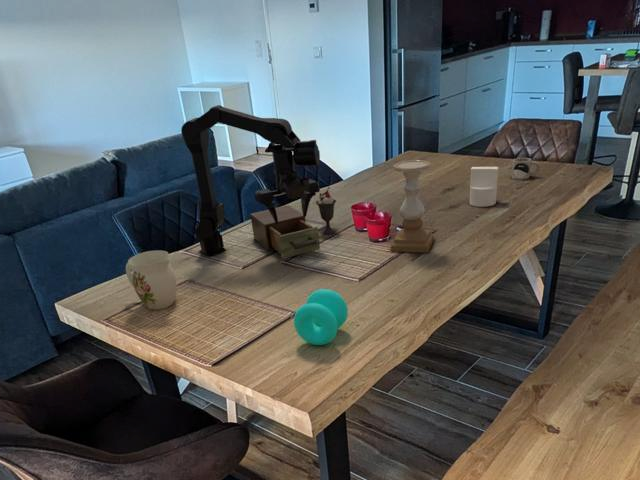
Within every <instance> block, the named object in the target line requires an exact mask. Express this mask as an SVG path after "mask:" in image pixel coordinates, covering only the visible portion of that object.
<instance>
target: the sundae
mask: <svg viewBox="0 0 640 480" xmlns="http://www.w3.org/2000/svg"><path fill="white" fill-rule="evenodd" d="M329 189H331V187H330V186H328V187H327V189H326V191H325V192H323V193H319V197H318V198H319V199H318V200H316V201H315V204H316V205H317V206H318V209H319V214H320V219H321V220H322V221H324V222H325V228H323V229H322V230H321V231H320V232H321V234H323V235H324V234H325V235H330V234H334V233H336V232H337V229H335V228H332V227H331V223H330V222H331V220H333V218H334V213H335V204H336V203H337V199H334V198H333V197H332V195H331V193H330V191H329Z"/></svg>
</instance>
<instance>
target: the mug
mask: <svg viewBox="0 0 640 480" xmlns="http://www.w3.org/2000/svg"><path fill="white" fill-rule="evenodd" d="M533 165H535V166H536V171H533V172H531V168H532V167H531V166H533ZM540 169H541V165H540V162H539V161H533V160H532V158H529V157H517V158H513V159H512V167H511V179H512V180H517V181H523V180H528V179H530V176H537V175H538V174H539V173H540Z"/></svg>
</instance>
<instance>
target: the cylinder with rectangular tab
mask: <svg viewBox="0 0 640 480" xmlns="http://www.w3.org/2000/svg"><path fill="white" fill-rule="evenodd" d="M498 178H499V166H472V167H471V168H470V180H469V181H470V185H469V202H468V203H469V205H470V206H472V207H476V208H477V207H478V208H479V207H480V208H485V207H491V206H494V205H495V204H497V192H498V191H497V189H498V180H499V179H498Z"/></svg>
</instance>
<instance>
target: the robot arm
mask: <svg viewBox="0 0 640 480" xmlns="http://www.w3.org/2000/svg"><path fill="white" fill-rule="evenodd" d="M217 124H222V125H225V126H229V127H233V128H236V129H240V130H242V131H247V132H249V133H253V134H255V135H258V136H260V137H261V138H262V139H264V140H266V141H268V142H269V144H268V145H267V147H266V149H264V153H272V159H273V168H274V169H273V174H274V176H275V183H276V184H275V190H270V189H268V188H263V189H259V190H255V193H254V200H255V201H256V202H257V203H259V204H260V205H263V206H265V207H266V208H267V210H269V212H270V213H271V215H272V217H273V219H274V221H275V223H276V224H277V223H278V218H277V214H276V209H275V208H276V202H275V201H274V200H275V198H279V197H283V196H286V197H287V198H288V199H289V200H294V199H297V198H300V203H301V205H300V206H301V213H302V214H303V216H304V217H305V218H306V217H307V215H308V210H309V206H310V202H311V200H312V198H313V197H314V196H317V193H319V192H321V190H320V189H321V188H320V184H319V182H317V180H314V179H311V178H310V179H309V178H308V177H307V176H305V177H301V178H299V177H298V173H297V170H295V165H297V166H298V167H316V166H320V162H321V154H320V149H319V146H318V144H317V139H310V140H303V141H302V140H301V139H300V137H298V134H296V133H295V132H294V130H293V128H292V125H291V123H290V121H288V120H287V119H285V118H276V117H260V116H256V115H252V114H249V113H246V112H242V111H238V110H235V109H231V108H228V107H224V106H222V105H220V104H217V105H214V106H212V107H210V108H209V110H208V111H206V112H205V113H204V114H202V115H200V116H199V117H194V118H192V119H190V120H188V121H185V122H184V123H183V125H182V126H181V129H180V131H181V132H180V133H181V136H182V138H183V141H184V144H185V146H186V148H187V149H188V151H189V152H190V155H191V157H192V163H193V169H194V173H195V178H196V183H197V188H198V189H197V190H198V193H199V199H200V205H199V211H198V214H199V215H198V217H199V224H198V226H197V227H196V228H195V230H194V231H193V232H194V235H195V237H196V238H197V239H198V241H199V242H198V243H199V246H200V249H199V250H198V251H199V253H200V254H203V255H205V256H207V257H211V256H214V255H217V254H220V253H222V252H226V250H227V249H226V248H225V245H224V240H223V235H222V234H221V231H220V229H221V226H222V224H223V223H224V221H225V217H226V216H227V214H226V212H225V204H224V202H221V203H220V202H219V200H217V197H216V191H215V185H214V180H213V175H212V168H211V164H210V157H209V153H208V148H209V143H210V129H212V128H214V126H216V125H217Z"/></svg>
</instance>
